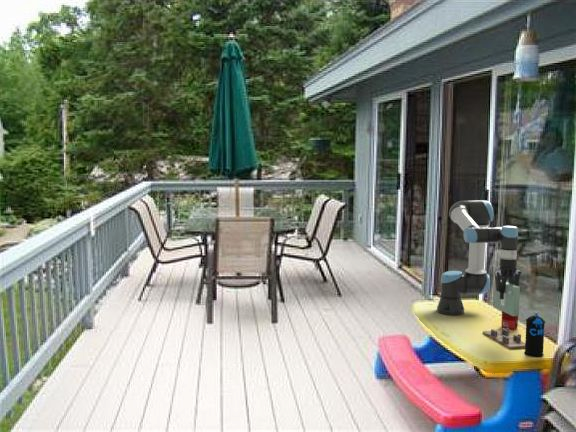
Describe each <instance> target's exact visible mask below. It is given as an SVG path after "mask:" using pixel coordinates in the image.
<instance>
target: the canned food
mask: <svg viewBox="0 0 576 432" xmlns="http://www.w3.org/2000/svg"><path fill="white" fill-rule="evenodd" d="M518 323H519V316H511V315H509V314H507V313H505V312H503V311H501V327H502V328H504V329H506V328H509V331H511V330H512V331H513V330H517V329H518V326H519V325H518Z"/></svg>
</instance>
